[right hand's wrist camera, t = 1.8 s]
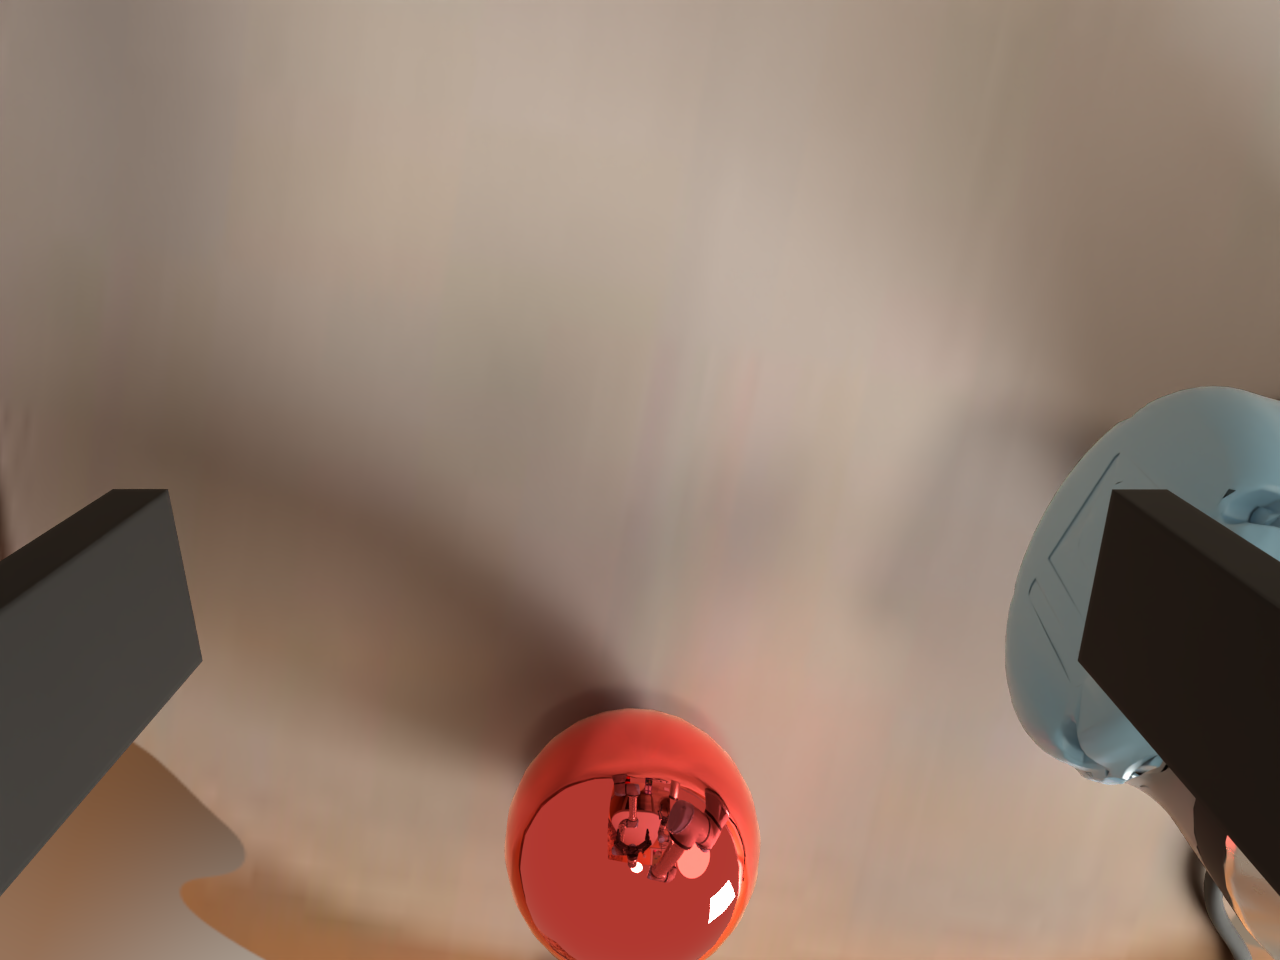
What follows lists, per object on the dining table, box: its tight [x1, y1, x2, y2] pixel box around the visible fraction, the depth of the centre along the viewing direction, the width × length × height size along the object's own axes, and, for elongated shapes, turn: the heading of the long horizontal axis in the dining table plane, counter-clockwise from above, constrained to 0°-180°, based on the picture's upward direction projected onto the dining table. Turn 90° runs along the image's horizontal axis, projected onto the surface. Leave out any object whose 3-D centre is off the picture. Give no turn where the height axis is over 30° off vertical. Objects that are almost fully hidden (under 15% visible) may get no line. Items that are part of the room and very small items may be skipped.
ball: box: [504, 708, 760, 960], centre depth 42 cm, size 12×12×12 cm
